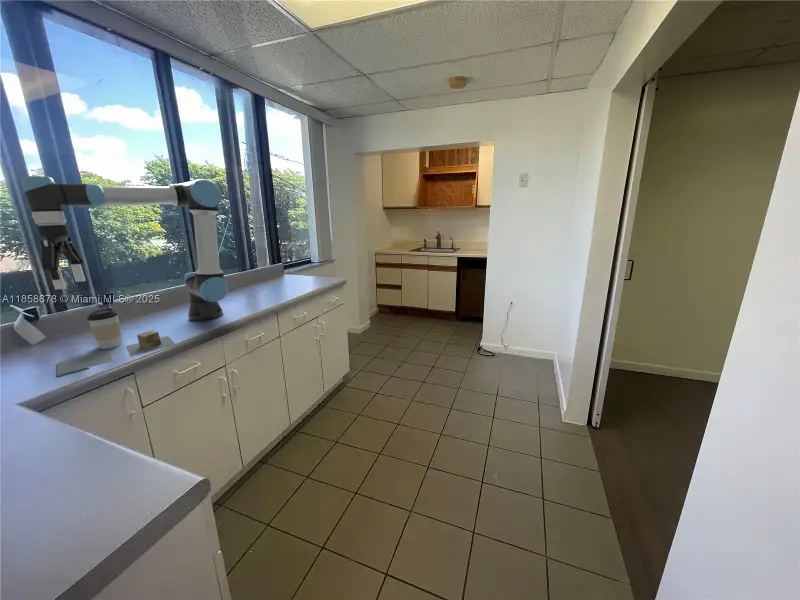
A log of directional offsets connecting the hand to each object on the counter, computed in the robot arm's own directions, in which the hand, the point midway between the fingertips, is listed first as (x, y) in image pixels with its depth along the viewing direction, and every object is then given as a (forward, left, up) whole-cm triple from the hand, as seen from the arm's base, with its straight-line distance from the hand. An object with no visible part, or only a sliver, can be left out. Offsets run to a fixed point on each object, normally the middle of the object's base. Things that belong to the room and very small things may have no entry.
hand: (71, 285), depth 117 cm
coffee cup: (-6, -2, -27) cm, 28 cm away
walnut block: (-17, +11, -26) cm, 33 cm away
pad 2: (-17, +11, -27) cm, 33 cm away
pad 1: (+2, +11, -27) cm, 29 cm away
